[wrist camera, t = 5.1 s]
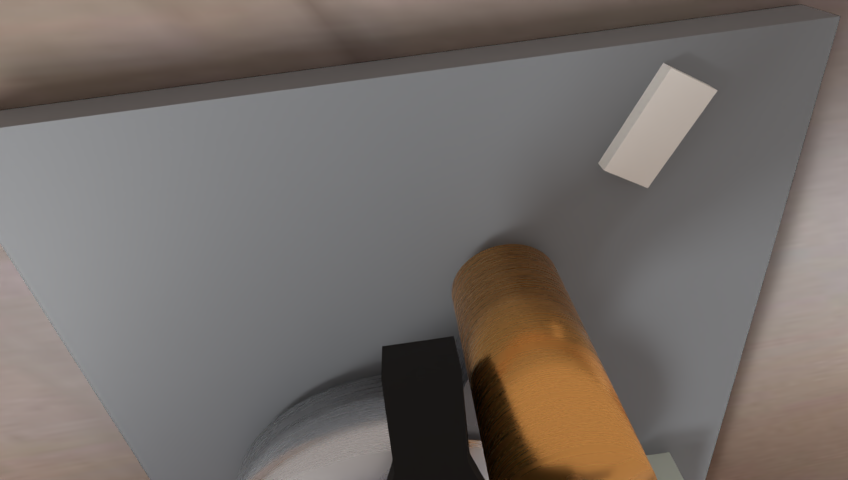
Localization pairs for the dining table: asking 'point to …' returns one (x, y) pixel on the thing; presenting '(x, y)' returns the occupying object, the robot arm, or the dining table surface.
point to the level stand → (414, 221)
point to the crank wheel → (481, 393)
